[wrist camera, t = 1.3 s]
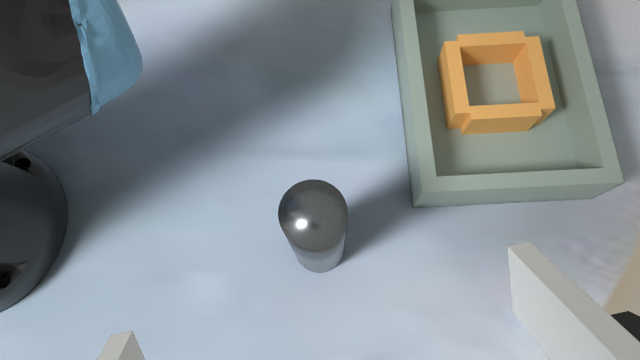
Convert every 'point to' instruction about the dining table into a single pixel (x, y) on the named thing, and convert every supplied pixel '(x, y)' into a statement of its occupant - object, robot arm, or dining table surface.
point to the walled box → (500, 103)
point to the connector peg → (314, 223)
